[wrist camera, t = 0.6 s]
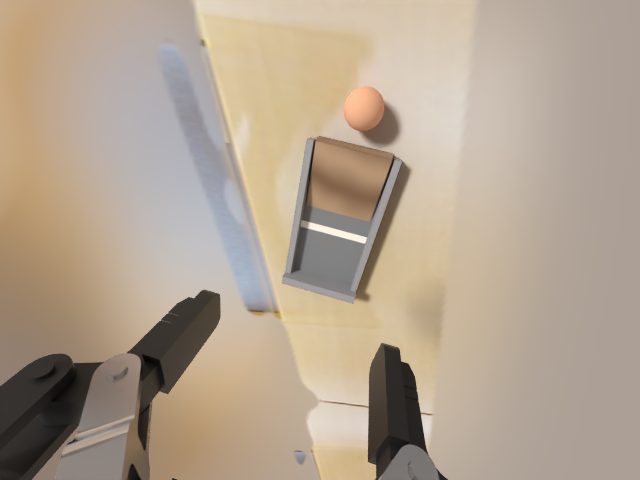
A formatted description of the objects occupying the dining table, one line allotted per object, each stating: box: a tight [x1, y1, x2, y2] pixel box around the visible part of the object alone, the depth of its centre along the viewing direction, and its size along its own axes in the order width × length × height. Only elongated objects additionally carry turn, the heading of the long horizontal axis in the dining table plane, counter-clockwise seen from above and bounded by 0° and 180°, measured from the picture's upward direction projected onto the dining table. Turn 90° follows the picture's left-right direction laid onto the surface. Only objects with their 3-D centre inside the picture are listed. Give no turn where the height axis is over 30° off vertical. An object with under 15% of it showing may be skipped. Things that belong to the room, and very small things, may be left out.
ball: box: [344, 86, 384, 131], centre depth 25 cm, size 4×4×4 cm
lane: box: [282, 138, 402, 304], centre depth 32 cm, size 20×11×3 cm, turn 169°
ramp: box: [307, 136, 393, 222], centre depth 30 cm, size 9×9×3 cm
